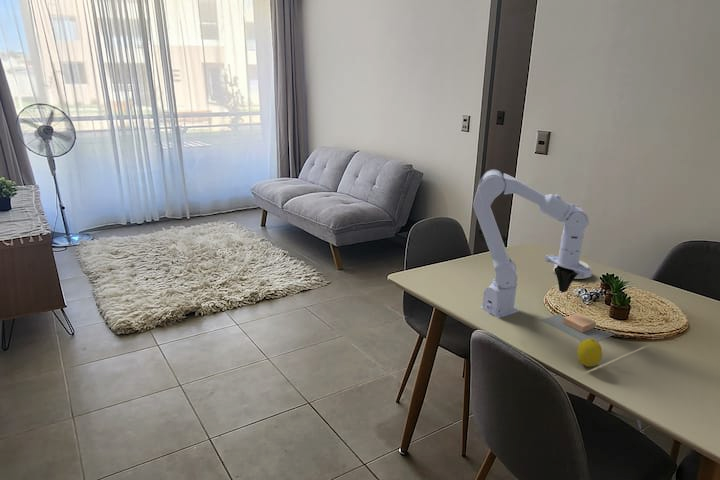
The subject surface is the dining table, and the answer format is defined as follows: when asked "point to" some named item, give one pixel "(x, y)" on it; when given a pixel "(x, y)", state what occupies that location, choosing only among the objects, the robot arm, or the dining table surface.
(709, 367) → the dining table surface
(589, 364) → the lemon
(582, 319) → the tile
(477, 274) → the dining table surface
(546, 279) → the dining table surface
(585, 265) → the lid
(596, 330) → the mat
